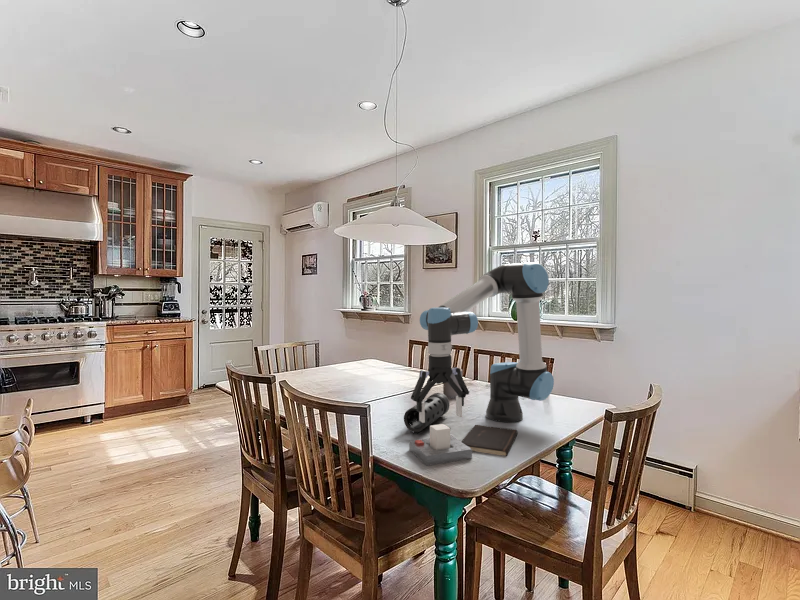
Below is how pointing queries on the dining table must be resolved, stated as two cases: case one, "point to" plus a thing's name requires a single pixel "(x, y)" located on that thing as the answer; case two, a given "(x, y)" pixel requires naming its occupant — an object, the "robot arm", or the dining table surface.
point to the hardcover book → (490, 439)
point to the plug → (439, 437)
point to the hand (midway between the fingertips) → (440, 418)
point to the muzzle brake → (427, 412)
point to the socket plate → (440, 451)
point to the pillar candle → (448, 389)
